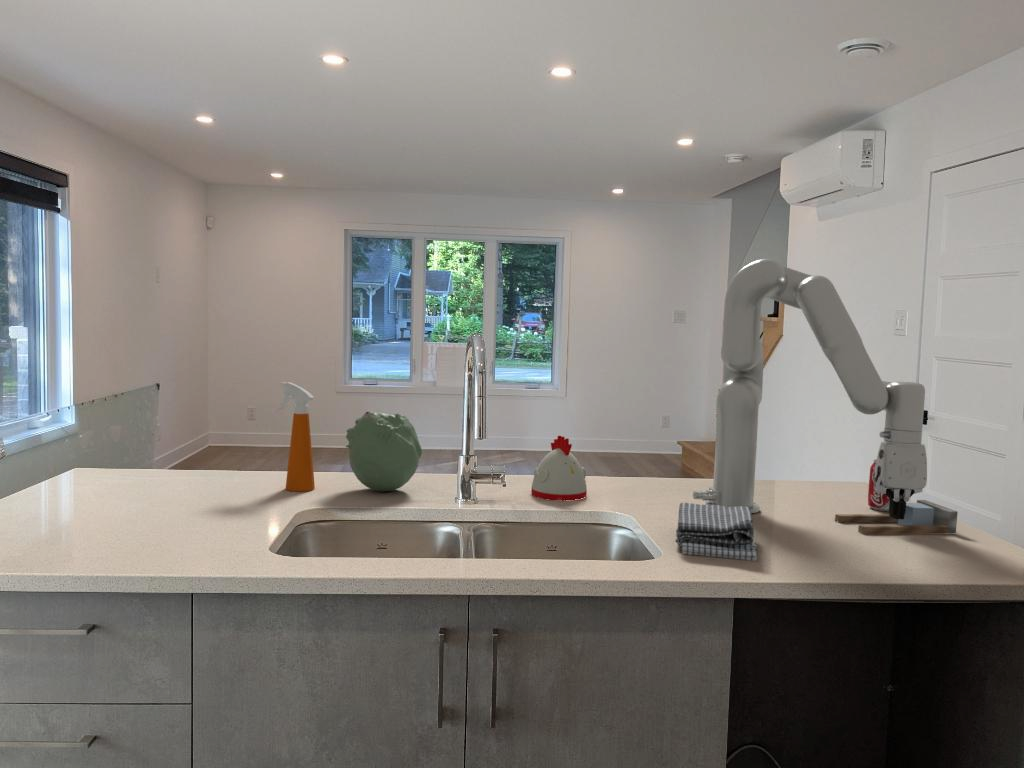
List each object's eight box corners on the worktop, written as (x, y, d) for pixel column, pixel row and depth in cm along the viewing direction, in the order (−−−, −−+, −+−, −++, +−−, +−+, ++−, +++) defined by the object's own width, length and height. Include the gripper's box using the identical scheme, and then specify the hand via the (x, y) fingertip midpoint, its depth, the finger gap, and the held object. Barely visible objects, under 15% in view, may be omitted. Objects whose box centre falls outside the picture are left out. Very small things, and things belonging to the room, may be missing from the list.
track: (862, 533, 171) (863, 511, 171) (834, 520, 182) (836, 499, 182) (955, 533, 174) (957, 511, 173) (923, 520, 185) (924, 499, 184)
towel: (750, 538, 165) (752, 501, 165) (757, 564, 147) (759, 522, 147) (676, 531, 169) (678, 495, 168) (674, 555, 151) (676, 515, 150)
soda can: (902, 513, 192) (905, 464, 191) (870, 511, 193) (874, 462, 192) (894, 507, 198) (897, 460, 197) (864, 505, 200) (867, 458, 199)
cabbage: (417, 498, 189) (419, 416, 188) (338, 496, 189) (340, 413, 187) (424, 485, 205) (426, 408, 203) (351, 483, 205) (352, 406, 203)
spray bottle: (284, 483, 201) (285, 380, 199) (320, 487, 198) (322, 383, 196) (266, 488, 195) (267, 382, 192) (304, 493, 191) (305, 384, 189)
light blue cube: (911, 530, 176) (913, 508, 175) (898, 524, 181) (899, 502, 180) (932, 530, 176) (934, 508, 176) (918, 524, 181) (920, 503, 181)
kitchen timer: (550, 503, 190) (553, 441, 189) (521, 491, 202) (523, 433, 201) (597, 498, 197) (599, 438, 196) (566, 487, 209) (568, 431, 208)
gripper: (881, 439, 172) (875, 522, 173) (944, 440, 173) (938, 522, 175) (861, 434, 179) (856, 513, 181) (923, 435, 181) (917, 514, 182)
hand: (896, 517), depth 178 cm, fingers closed
